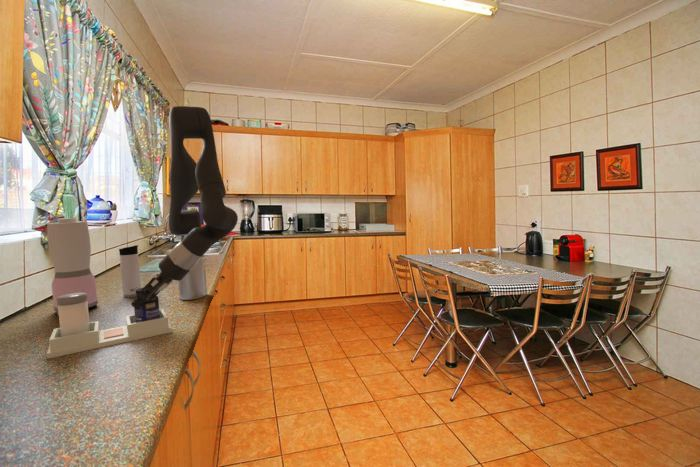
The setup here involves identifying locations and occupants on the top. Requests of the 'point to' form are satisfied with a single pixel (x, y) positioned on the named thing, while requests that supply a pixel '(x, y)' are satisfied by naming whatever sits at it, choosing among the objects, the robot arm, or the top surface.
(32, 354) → the top surface
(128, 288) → the travel mug
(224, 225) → the robot arm
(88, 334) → the cream compartment organizer
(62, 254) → the blender
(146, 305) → the pill bottle
